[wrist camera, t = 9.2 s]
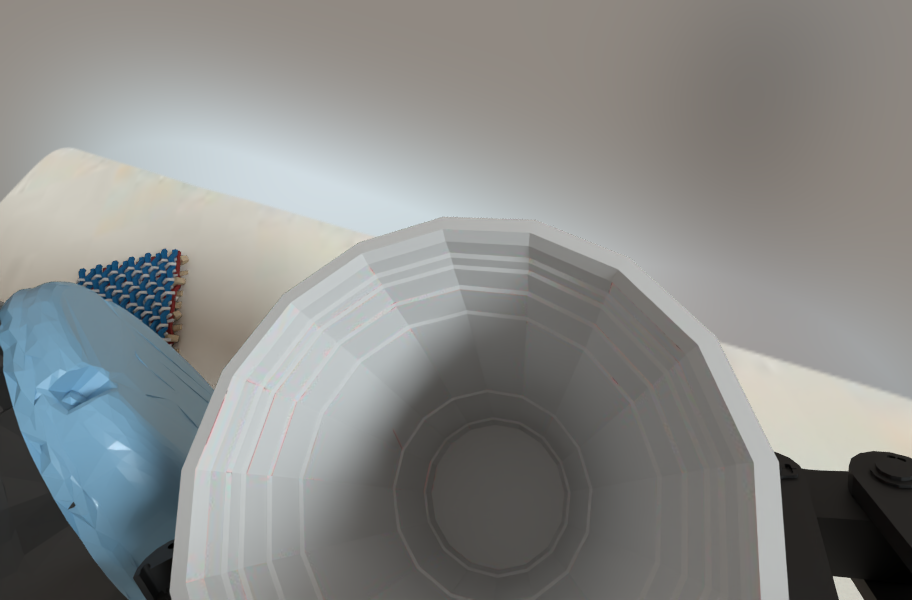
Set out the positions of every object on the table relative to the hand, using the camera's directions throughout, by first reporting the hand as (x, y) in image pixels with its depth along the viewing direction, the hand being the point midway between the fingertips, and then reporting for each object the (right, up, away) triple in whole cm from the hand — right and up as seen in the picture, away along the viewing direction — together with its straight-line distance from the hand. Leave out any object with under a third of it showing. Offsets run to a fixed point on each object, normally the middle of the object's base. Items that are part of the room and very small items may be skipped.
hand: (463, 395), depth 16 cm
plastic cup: (+1, -5, +2) cm, 5 cm away
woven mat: (-29, +2, +24) cm, 38 cm away
